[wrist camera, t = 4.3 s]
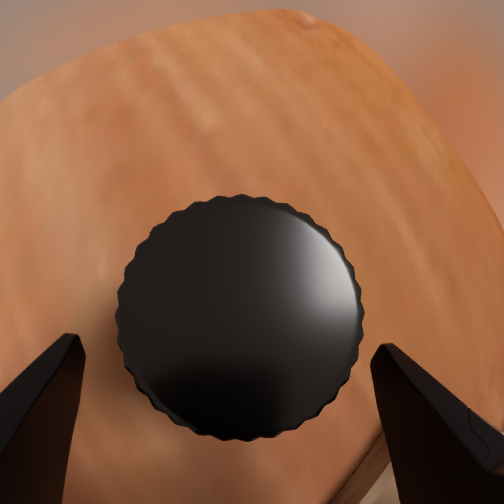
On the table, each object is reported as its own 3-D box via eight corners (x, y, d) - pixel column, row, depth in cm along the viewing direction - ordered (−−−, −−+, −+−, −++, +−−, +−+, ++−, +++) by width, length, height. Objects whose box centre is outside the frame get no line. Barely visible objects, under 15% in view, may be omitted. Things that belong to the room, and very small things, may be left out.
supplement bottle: (206, 239, 18) (215, 95, 6) (302, 308, 18) (450, 269, 6) (135, 335, 16) (11, 341, 4) (234, 406, 16) (292, 530, 4)
